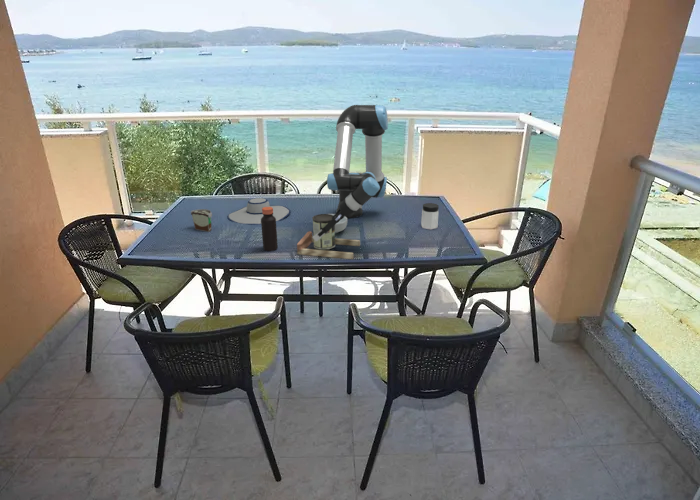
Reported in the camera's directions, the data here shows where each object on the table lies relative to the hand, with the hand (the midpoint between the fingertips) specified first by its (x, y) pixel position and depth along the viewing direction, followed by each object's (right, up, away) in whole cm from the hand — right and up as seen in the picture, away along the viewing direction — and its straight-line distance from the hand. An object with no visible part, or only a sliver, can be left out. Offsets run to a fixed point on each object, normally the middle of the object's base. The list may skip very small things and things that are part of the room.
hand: (317, 235), depth 210 cm
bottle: (-23, -6, +3) cm, 24 cm away
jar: (+57, +5, +30) cm, 65 cm away
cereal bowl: (+5, +3, +24) cm, 25 cm away
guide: (+5, -7, +2) cm, 9 cm away
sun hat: (-38, +13, +51) cm, 64 cm away
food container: (-61, +4, +28) cm, 68 cm away
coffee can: (+3, -5, +1) cm, 6 cm away
